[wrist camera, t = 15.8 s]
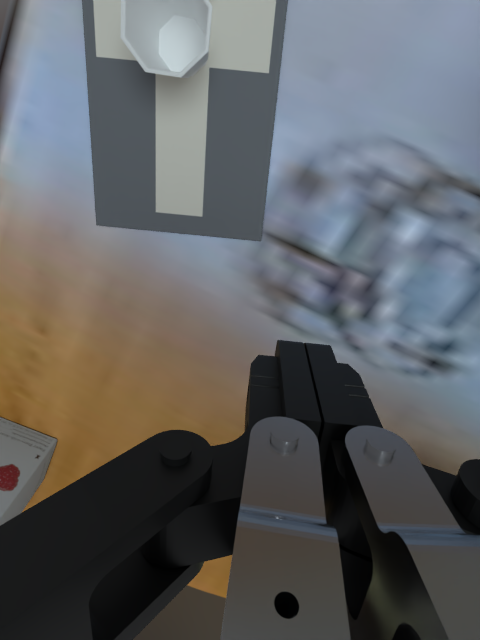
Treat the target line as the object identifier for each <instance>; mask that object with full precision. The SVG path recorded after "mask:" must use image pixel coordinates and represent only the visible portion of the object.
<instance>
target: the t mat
mask: <svg viewBox="0 0 480 640" xmlns="http://www.w3.org/2000/svg"><path fill="white" fill-rule="evenodd" d="M209 2H210V3H211V5H212V18H211V31H210V43H209V54H208V60H207V62H206V64H205V65H204V66H203V67H202V68H201V69H200V70H199V71H198V72H197V73H196V74H195V75H193V76H190V77H189V78H180V77H174V76H167V75H161V74H155V73H148V72H145V71H144V70H143V68H142V67H141V65H140V64H139V63H138V61H137V60H136V58H135V57H134V56H133V54H132V53H131V52H130V50H129V49H128V47H127V46H126V45H125V43H124V42H123V40H122V39H121V38H120V36H121V0H82V7H83V22H84V38H85V54H86V69H87V85H88V101H89V116H90V132H91V148H92V163H93V179H94V195H95V210H96V225H100V226H110V227H120V228H130V229H141V230H151V231H161V232H171V233H181V234H192V235H202V236H212V237H222V238H233V239H243V240H253V241H261V237H262V228H263V219H264V210H265V201H266V192H267V183H268V174H269V165H270V156H271V147H272V138H273V129H274V120H275V111H276V102H277V93H278V84H279V75H280V66H281V57H282V48H283V39H284V30H285V21H286V12H287V3H288V0H209Z"/></svg>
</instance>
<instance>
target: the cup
mask: <svg viewBox="0 0 480 640" xmlns="http://www.w3.org/2000/svg"><path fill="white" fill-rule="evenodd" d="M211 18H212V5H211V3H210V2H209V0H121V36H120V38H121V39H122V40H123V42H124V43H125V45H126V46H127V47H128V49H129V50H130V52H131V53H132V54H133V56H134V57H135V58H136V60H137V61H138V63H139V64H140V65H141V67H142V68H143V70H144V71H145V72H148V73H155V74H161V75H167V76H174V77H180V78H189V77H190V76H193V75H195V74H196V73H197V72H198V71H199V70H200V69H201V68H202V67H203V66H204V65H205V64H206V62H207V60H208V54H209V43H210V31H211Z"/></svg>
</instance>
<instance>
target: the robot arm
mask: <svg viewBox="0 0 480 640" xmlns="http://www.w3.org/2000/svg"><path fill="white" fill-rule="evenodd" d="M229 555H232V562H231V569H230V576H229V583H228V590H227V597H226V604H225V612H224V618H223V625H222V632H221V639H220V640H480V459H474V460H468V461H466V462H464V463H463V464H462V465H461V467H460V469H459V472H458V474H457V476H455V475H452V474H449V473H446V472H443V471H440V470H437V469H434V468H431V467H428V466H425V465H423V464H421V462H420V461H419V459H418V458H417V456H416V454H415V453H414V451H413V449H412V448H411V447H410V445H409V444H408V443H407V442H406V441H405V440H403V439H402V438H401V437H399V436H398V435H396V434H395V433H393V432H391V431H388V430H386V429H383V427H382V424H381V422H380V420H379V418H378V415H377V413H376V411H375V409H374V406H373V404H372V402H371V400H370V398H369V395H368V393H367V391H366V389H365V388H364V384H363V382H362V379H361V377H360V375H359V374H358V373H357V372H356V371H355V370H354V369H353V368H352V367H350V366H349V365H348V364H343V363H337V361H336V359H335V356H334V353H333V350H332V348H331V346H330V345H321V344H311V343H302V342H292V341H282V340H278V341H277V345H276V351H275V357H274V356H264V355H258V356H257V357H256V359H255V360H254V361H253V362H252V363H251V368H250V377H249V385H248V394H247V402H246V415H245V432H244V434H243V435H242V436H240V437H239V438H238V439H236V440H234V441H232V442H229V443H226V444H222V445H216V446H210V444H209V443H208V442H207V441H206V440H205V439H204V438H203V437H201V436H200V435H198V434H195V433H193V432H189V431H184V430H169V431H165V432H161V433H158V434H156V435H154V436H152V437H150V438H149V439H147V440H145V441H144V442H142V443H140V444H138V445H137V446H135V447H133V448H132V449H130V450H128V451H127V452H125V453H123V454H121V455H120V456H118V457H116V458H115V459H113V460H111V461H109V462H108V463H106V464H104V465H103V466H101V467H99V468H98V469H96V470H94V471H92V472H91V473H89V474H87V475H86V476H84V477H82V478H80V479H79V480H77V481H75V482H74V483H72V484H70V485H69V486H67V487H65V488H63V489H62V490H60V491H58V492H57V493H55V494H53V495H51V496H50V497H48V498H46V499H45V500H43V501H41V502H40V503H38V504H36V505H34V506H33V507H31V508H29V509H28V510H26V511H24V512H22V513H21V514H19V515H17V516H16V517H14V518H12V519H11V520H9V521H7V522H5V523H4V524H2V525H0V640H133V639H134V638H135V636H136V635H138V634H139V633H140V632H141V631H142V630H143V629H144V628H145V626H146V625H148V624H149V623H150V622H151V621H152V619H154V618H155V616H156V615H157V614H158V613H159V612H160V611H161V610H162V609H163V608H164V607H165V606H166V605H167V604H168V603H169V602H170V601H171V600H172V599H173V598H174V597H175V596H176V595H177V594H178V593H179V592H180V591H181V590H182V589H183V588H184V587H185V586H186V585H187V584H188V583H189V582H190V581H191V580H192V579H193V578H194V577H195V576H196V575H197V574H198V573H199V571H200V570H201V568H202V566H203V563H204V561H208V560H212V559H216V558H221V557H225V556H229Z"/></svg>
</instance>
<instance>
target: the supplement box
mask: <svg viewBox="0 0 480 640" xmlns="http://www.w3.org/2000/svg"><path fill="white" fill-rule="evenodd" d="M56 443H57V439H55V438H52V437H50V436H47V435H45V434H42V433H40V432H37V431H35V430H32V429H29V428H27V427H24V426H22V425H19V424H17V423H14V422H11V421H9V420H6V419H4V418H1V417H0V525H2V524H4V523H5V522H7V521H9V520H11V519H12V518H14V517H16V516H17V515H19V514H21V512H22V511H23V510H24V508H25V507H26V505H27V504H28V502H29V501H30V499H31V498H32V496H33V495H34V493H35V492H36V490H37V489H38V487H39V486H40V484H41V483H42V481H43V480H44V477H45V474H46V472H47V469H48V466H49V463H50V460H51V458H52V455H53V452H54V449H55V446H56Z"/></svg>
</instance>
